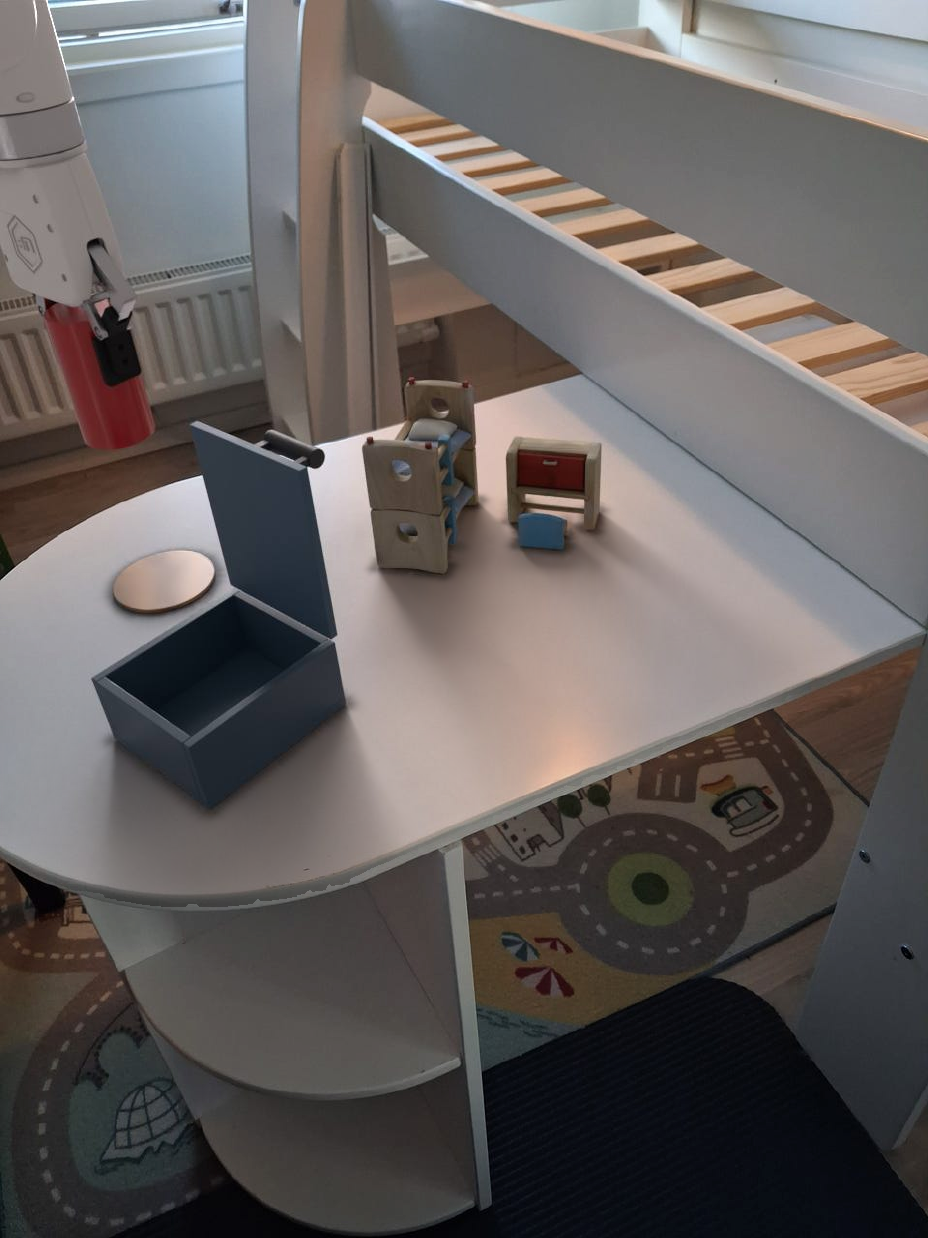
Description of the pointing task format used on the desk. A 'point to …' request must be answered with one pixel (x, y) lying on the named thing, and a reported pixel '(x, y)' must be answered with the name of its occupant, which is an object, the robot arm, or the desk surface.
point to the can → (96, 384)
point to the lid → (268, 521)
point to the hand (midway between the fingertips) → (99, 368)
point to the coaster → (164, 581)
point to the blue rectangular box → (221, 694)
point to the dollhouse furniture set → (465, 480)
